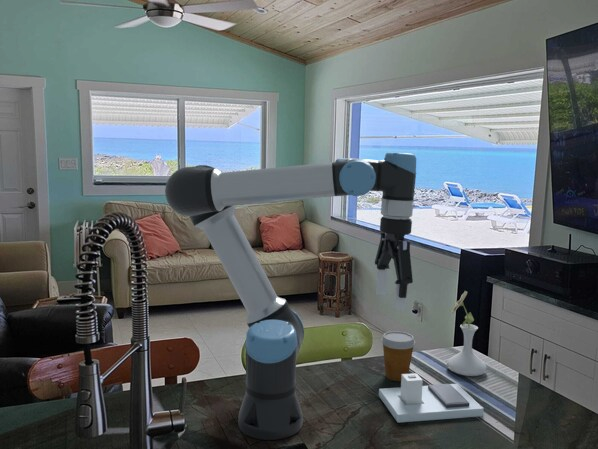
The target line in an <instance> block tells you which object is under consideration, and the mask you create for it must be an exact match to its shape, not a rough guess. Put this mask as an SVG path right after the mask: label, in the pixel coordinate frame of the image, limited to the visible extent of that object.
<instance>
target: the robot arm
mask: <svg viewBox="0 0 598 449" xmlns="http://www.w3.org/2000/svg"><path fill="white" fill-rule="evenodd" d="M416 175H417V156H416V155H415V154H413V153H407V152H405V153H404V152H386V153H385V154H384V158H383V159H379V160H377V159H363V158H350V157H346V158H345V157H342V158H337V159H335V161H333V162H320V163H311V164H299V165H290V166H281V167H280V166H279V167H269V168H259V169H247V170H236V171H226V172H222V171H221V170H219V169H218V168H216V167H214V166H211V165H206V164H202V165H200V164H198V165H195V166H185V167H181V168H179V169H177V170H176V171H175V172H173V173H172V174H170V176H169V178H168V179H167V181H166V184H165V189H164V192H165V199H166V201H167V203H168V205H169V207H170V208H171V209H172V210H173V211H174V212H175V213H177V214H179V215H182V216H186V217H189V218H190V221H191V222H192V224H193V226H194V227H195V228H197V229H201V230H202V231H203V232H204V234H205V236H206V238H207V239H208V241H209V243H210V244H211V245H210V246H212V249H213V250H214V253H215V254H216V256H217V258H218V260H219V261H220V263H221V265H222V268H223V269H224V271H225V273H226V275H227V276H228V278H229V280H230V282H231V283H232V286H233V288H234V289H235V292H236V293H237V295H238V297H239V299H240V301H241V303H242V304H243V306H244V309H245V311H246V312H247V315H246V320H245V323H246V325H247V326H248V329H247V331H246V336H245V342H244V347H245V394H244V396H243V400H242V403H241V405H240V408H239V412H238V416H237V419H238V420H237V421H238V422H237V425H238V429H239V430H240V432H242V433H243V434H244V435H246V436H248V437H250V438H253V439H256V440H257V439H258V440H264V441H274V440H283V439H287V438H289V437H291V436H293V435H296V434H297V433H298V432H299V431H300V430H301V429H302V428H303V422H304V421H303V419H304V418H303V411H302V408H301V404H300V401H299V398H298V395H297V391H296V390H297V388H296V386H297V383H296V382H297V359H298V357H299V356H298V355H299V353H300V350H301V346H302V344H303V341H304V337H305V329H304V323H303V321H302V319H301V317H300V316H299V314H298V313H297V312H296V311H294V310H293V309H292V308H291V307H290V304H289V303H288V301H287V300H286V298H282V297H280V296H278V295H277V293H276V291H275V289H274V287H273V286H272V283H271V282H270V279H269V278H268V276H267V274H266V272H265V270H264V268H263V267H262V265H261V263H260V261H259V258H257V255H256V253H255V251H254V249H253V248H252V245H251V244H250V242H249V240H248V239H247V237H246V234H245V233H244V231H243V229H242V226H240V223H239V221H238V219H237V218H236V216H235V210H236V207H237V206H241V205H242V206H244V205H253V204H254V205H255V204H264V203H275V202H276V203H277V202H286V201H287V202H288V201H298V200H306V199H307V200H310V199H320V198H330V197H344V196H345V197H346V196H352V197H359V196H360V197H361V196H364V195H365V196H366V195H367V194H368V193H369V192H382V198H381V204H380V205H381V206H380V214H381V217H380V224H379V226H380V227H379V231H380V232H381V233H380V240H379V243H378V249H377V252H376V256H375V259H374V265H376V269H377V271H376V273H377V274H376V284H375V285H376V286H375V287H376V288H375V295H376V296H377V295H378V296H379V295H387V294H388V293H387V292H388V281H389V270H390V262H391V260H392V259H393V265H394V268H395V269H394V270H395V275H396V279H397V280H395V282H394V284H395V287H394V288H395V289H394V299H393V300H394V303H393V310H394V312H395V311H396V312H397V311H398V312H400V311H403V312H405V311H407V301H408V287H409V284H413V281H414V280H413V279H414V278H413V269H412V260H411V242H410V240H405V236H406V235H411V233H412V229H413V228H412V226H413V225H412V224H413V220H412V218H411V217H412V216H413V211H414V210H413V209H414V208H415V206H416V205H415V204H414V200H415V199H414V198H415V188H416V180H417V179H416V178H417V177H416Z"/></svg>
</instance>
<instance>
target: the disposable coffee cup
mask: <svg viewBox="0 0 598 449" xmlns="http://www.w3.org/2000/svg"><path fill="white" fill-rule="evenodd" d="M380 341H381V343H382V349H383V362H384V371H385V373H384V374H385V378H386V379H388V380H391V381H393V382H401V376H402V374H410V373H409V372H410V367H411V363H412V362H411V361H412V356H413V351H414V347H415V344H416V340H415V337H414V336H413V334H410V333H408V332H404V331H398V330H397V331H386V332H385V333H383V335H382V337H381V339H380Z"/></svg>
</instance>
